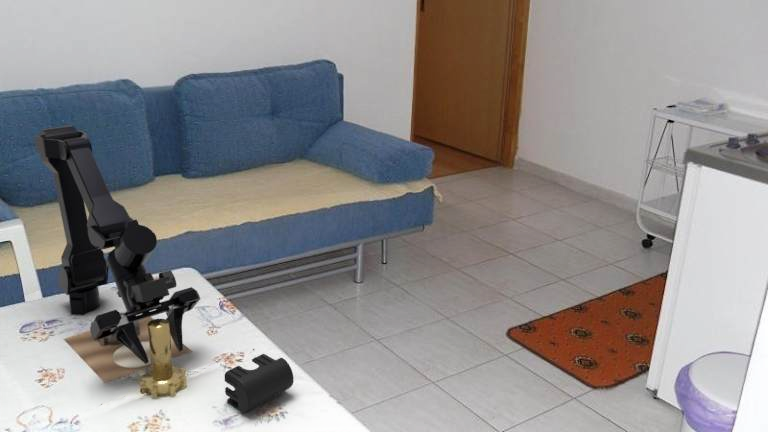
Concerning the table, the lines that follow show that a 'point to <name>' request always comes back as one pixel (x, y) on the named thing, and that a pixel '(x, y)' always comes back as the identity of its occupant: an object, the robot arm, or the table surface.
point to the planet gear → (161, 364)
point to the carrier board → (116, 354)
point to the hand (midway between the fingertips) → (164, 356)
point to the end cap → (257, 382)
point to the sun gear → (115, 342)
